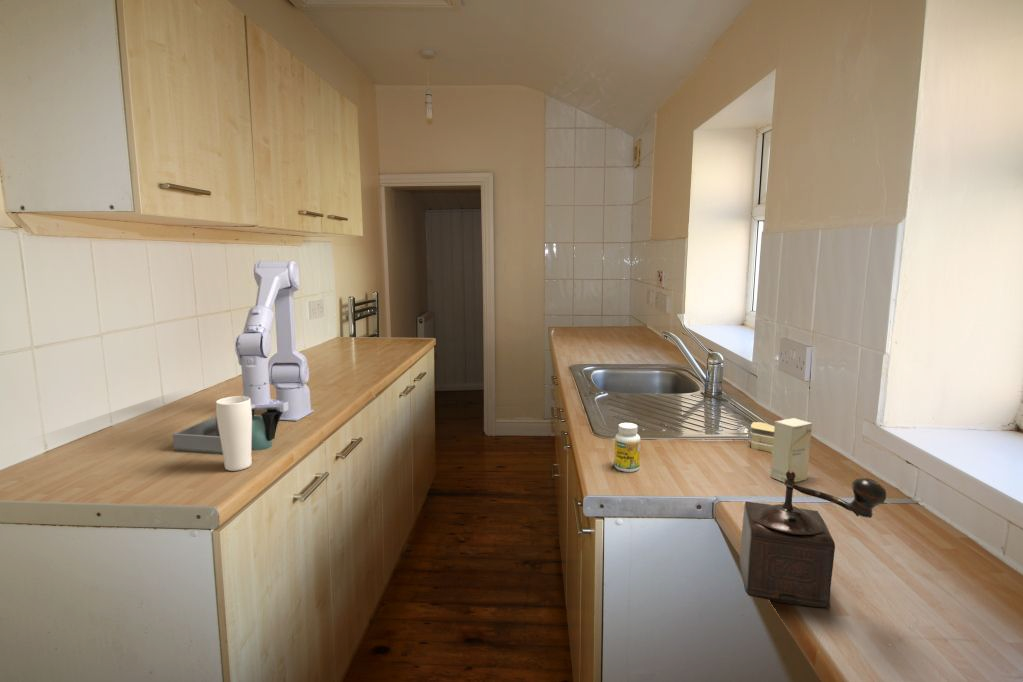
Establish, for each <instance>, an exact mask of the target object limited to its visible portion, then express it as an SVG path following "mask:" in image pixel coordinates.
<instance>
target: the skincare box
mask: <svg viewBox="0 0 1023 682" xmlns="http://www.w3.org/2000/svg"><path fill="white" fill-rule="evenodd" d="M774 426H775V428H774V440H773V452H772V453H771V454H772V455H771V464H770V465H771V466H770V477H771V478H772V479H775V480H777V481H780V482H782V483H784V481H785V480H786V479H787V478H786V473H787V472H788V471H793V472H795V474H796V476H795V479H794V481H795V482H796V483H797V482H802V481H806V480H807V479H808V472H809V461H810V460H809V459H810V451H811V450H810V449H811V438H812V428H813V427H812V426H813V423H812V422H810V421H806V420H802V419H798V418H795V417H791V418H786V419H785V418H784V419H781V420H775V421H774Z"/></svg>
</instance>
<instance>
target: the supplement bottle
mask: <svg viewBox="0 0 1023 682" xmlns="http://www.w3.org/2000/svg"><path fill="white" fill-rule="evenodd" d="M638 427H639V426H638V425H637V424H636V423H632V422H621V423H619V424H618V432H617V434H615V438H614V439H615V440H614V467H615V469H617V470H618V471H620V472H626V473H631V472H637V471H638V470H639V469H640V463H641V462H640V461H641V436H640V435H639V434H638Z"/></svg>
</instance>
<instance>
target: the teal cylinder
mask: <svg viewBox="0 0 1023 682" xmlns="http://www.w3.org/2000/svg"><path fill="white" fill-rule="evenodd" d="M258 415H259V416H253V417H252V451H262V450H267V449H269V448H271V447H273V439H272V440H271V441H267V438H266V429H265V424H264V420H263V418H262V416H261V414H258Z"/></svg>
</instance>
